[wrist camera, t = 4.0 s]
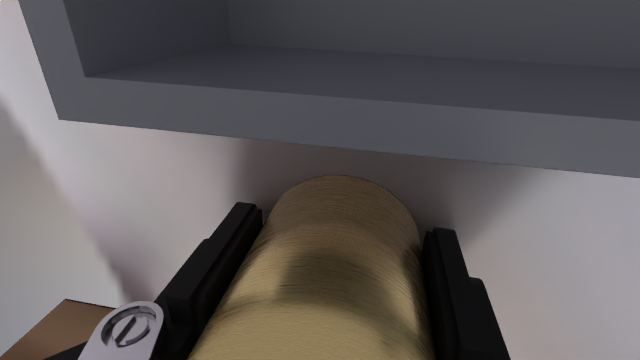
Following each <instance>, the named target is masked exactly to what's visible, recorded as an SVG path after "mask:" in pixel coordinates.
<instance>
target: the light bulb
mask: <svg viewBox="0 0 640 360" xmlns="http://www.w3.org/2000/svg"><path fill="white" fill-rule="evenodd" d="M187 360H437V359H436V352H435V345H434V338H433V331H432V324H431V317H430V310H429V303H428V296H427V289H426V282H425V275H424V268H423V261H422V254H421V247H420V240H419V234H418V229H417V226H416V224H415V221H414V219H413V217H412V215H411V214H410V212H409V211H408V209H407V208H406V207H405V205H404V204H403V203H402V202H401V201H400V200H399V199H398V198H397V197H396V196H394V195H393V194H392V193H390V192H389V191H388V190H386V189H384V188H382V187H381V186H379V185H377V184H375V183H372V182H370V181H367V180H364V179H360V178H357V177H351V176H343V175H329V176H321V177H315V178H312V179H309V180H306V181H303V182H301V183H299V184H297V185H295V186H294V187H292V188H291V189H289V190H288V191H287V192H286V193H285V194H284V195H283V196H282V197H281V198H280V199H279V200H278V202H277V203H276V204H275V206H274V208H273V210H272V211H271V213H270V215H269V217H268V218H267V220H266V222H265V224H264V225H263V227H262V229H261V231H260V232H259V234H258V236H257V238H256V239H255V241H254V243H253V245H252V246H251V248H250V250H249V252H248V253H247V255H246V257H245V259H244V260H243V262H242V264H241V266H240V267H239V269H238V271H237V273H236V274H235V276H234V278H233V280H232V281H231V283H230V285H229V287H228V288H227V290H226V292H225V294H224V295H223V297H222V299H221V301H220V302H219V304H218V306H217V308H216V309H215V311H214V313H213V315H212V316H211V318H210V320H209V322H208V323H207V325H206V327H205V329H204V330H203V332H202V334H201V336H200V337H199V339H198V341H197V343H196V344H195V346H194V348H193V350H192V351H191V353H190V355H189V357H188V358H187Z"/></svg>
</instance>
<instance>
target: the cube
mask: <svg viewBox="0 0 640 360" xmlns="http://www.w3.org/2000/svg"><path fill="white" fill-rule="evenodd" d="M115 309H117V308H113V307H107V306H102V305H97V304H92V303H86V302H81V301H76V300H71V299H64V300H63V301H62V302H61V303H60V304H59V305H58V306H57V307H56V308H54V309H53V310H52V311H51V312H50V313H49V314H48V315H47V316H45V317H44V318H43V319H42V320H41V321H40V322H39V323H38V324H37V325H35V326H34V327H33V328H32V329H31V330H30V331H29V332H28V333H26V334H25V335H24V336H23V337H22V338H21V339H20V340H19V341H18V342H17V343H16V344H14V345H13V346H12V347H11V348H10V349H9V350H8V351H6V352H5V353H4V354H3V355H2V356H1V357H0V360H43V359H45V358H48V357H50V356H52V355H55V354H57V353H60V352H62V351H64V350H67V349H69V348H72V347H74V346H76V345H79V344H81V343H84V342H86V341H88V340H89V339H90V337H91V335H92V334H93V332H94V330H95V328H96V327H97V326H98V324H99V323H100V322H101V320H102V319H103V318H104V317H105V316H107V315H108V314H109V313H110V312H112V311H113V310H115Z"/></svg>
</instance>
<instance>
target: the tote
mask: <svg viewBox="0 0 640 360" xmlns="http://www.w3.org/2000/svg"><path fill="white" fill-rule="evenodd" d="M18 1H19V4H20V7H21V10H22V13H23V16H24V19H25V22H26V24H27V27H28V30H29V33H30V36H31V39H32V42H33V45H34V48H35V51H36V54H37V57H38V60H39V62H40V65H41V68H42V71H43V74H44V77H45V80H46V83H47V86H48V89H49V92H50V95H51V98H52V101H53V103H54V106H55V109H56V112H57V115H58V118H59V120H68V121H78V122H88V123H98V124H108V125H118V126H128V127H138V128H148V129H157V130H167V131H177V132H187V133H197V134H207V135H217V136H227V137H237V138H247V139H257V140H267V141H277V142H286V143H296V144H306V145H316V146H326V147H336V148H346V149H356V150H366V151H376V152H386V153H396V154H406V155H415V156H425V157H435V158H445V159H455V160H465V161H475V162H485V163H495V164H505V165H515V166H525V167H534V168H544V169H554V170H564V171H574V172H584V173H594V174H604V175H614V176H624V177H634V178H640V0H18Z"/></svg>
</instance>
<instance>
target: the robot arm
mask: <svg viewBox="0 0 640 360" xmlns="http://www.w3.org/2000/svg"><path fill="white" fill-rule="evenodd" d="M262 227H263V221H262V211H261V209H257V206H256V205H255V204H251V203H243V202H237V203H236V204H235V206H234V207H233V208H232V209H231V211H230V212H229V213H228V215H227V216H226V217H225V218H224V220H223V221H222V222H221V224H220V225H219V226H218V227H217V229H216V230H215V231H214V233H213V234H212V235H211V237H210V238H209V239H208V238H207V239H204V240H203V241H202V242H201V243H200V244H199V246H198V247H197V248H196V250H195V251H194V252H193V253H192V255H191V256H190V257H189V258H188V260H187V261H186V262H185V263H184V265H183V266H182V267H181V268H180V270H179V271H178V272H177V273H176V275H175V276H174V277H173V278H172V280H171V281H170V282H169V283H168V285H167V286H166V287H165V288H164V290H163V291H162V292H161V294H160V295H159V296H158V297H157V299H156V300H155V301H154V302H150V301H136V302H131V303H128V304H125V305H123V306H120V307H118V308H117V309H115V310H113V311H112V312H110V313H109V314H108V315H107V316H105V317H104V318H103V319H102V320H101V322H100V323H99V324H98V326H97V327H96V328H95V330H94V332H93V334H92V335H91V337H90V339H89V340H88V341H86V342H84V343H81V344H79V345H76V346H74V347H72V348H69V349H67V350H64V351H62V352H60V353H57V354H55V355H52V356H50V357H48V358H45V359H43V360H187V358H188V357H189V355H190V353H191V351H192V350H193V348H194V346H195V344H196V343H197V341H198V339H199V337H200V336H201V334H202V332H203V330H204V329H205V327H206V325H207V323H208V322H209V320H210V318H211V316H212V315H213V313H214V311H215V309H216V308H217V306H218V304H219V302H220V301H221V299H222V297H223V295H224V294H225V292H226V290H227V288H228V287H229V285H230V283H231V281H232V280H233V278H234V276H235V274H236V273H237V271H238V269H239V267H240V266H241V264H242V262H243V260H244V259H245V257H246V255H247V253H248V252H249V250H250V248H251V246H252V245H253V243H254V241H255V239H256V238H257V236H258V234H259V232H260V231H261V229H262ZM421 254H422V261H423V268H424V275H425V282H426V289H427V296H428V303H429V310H430V317H431V324H432V331H433V338H434V345H435V352H436V359H437V360H511V359H510V357H509V354H508V351H507V348H506V345H505V342H504V340H503V337H502V334H501V331H500V328H499V325H498V323H497V320H496V317H495V314H494V311H493V308H492V306H491V303H490V300H489V297H488V294H487V291H486V289H485V286H484V284H483V281H482V280H481V279H479V278H472V277H469V275H468V272H467V268H466V265H465V262H464V258H463V255H462V252H461V249H460V245H459V242H458V239H457V236H456V232H455V230H452V229H444V228H437V227H434V229H433V231H432V232H430V231H427V232H426V234H425V238H424V242H423V246H422V251H421Z"/></svg>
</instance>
